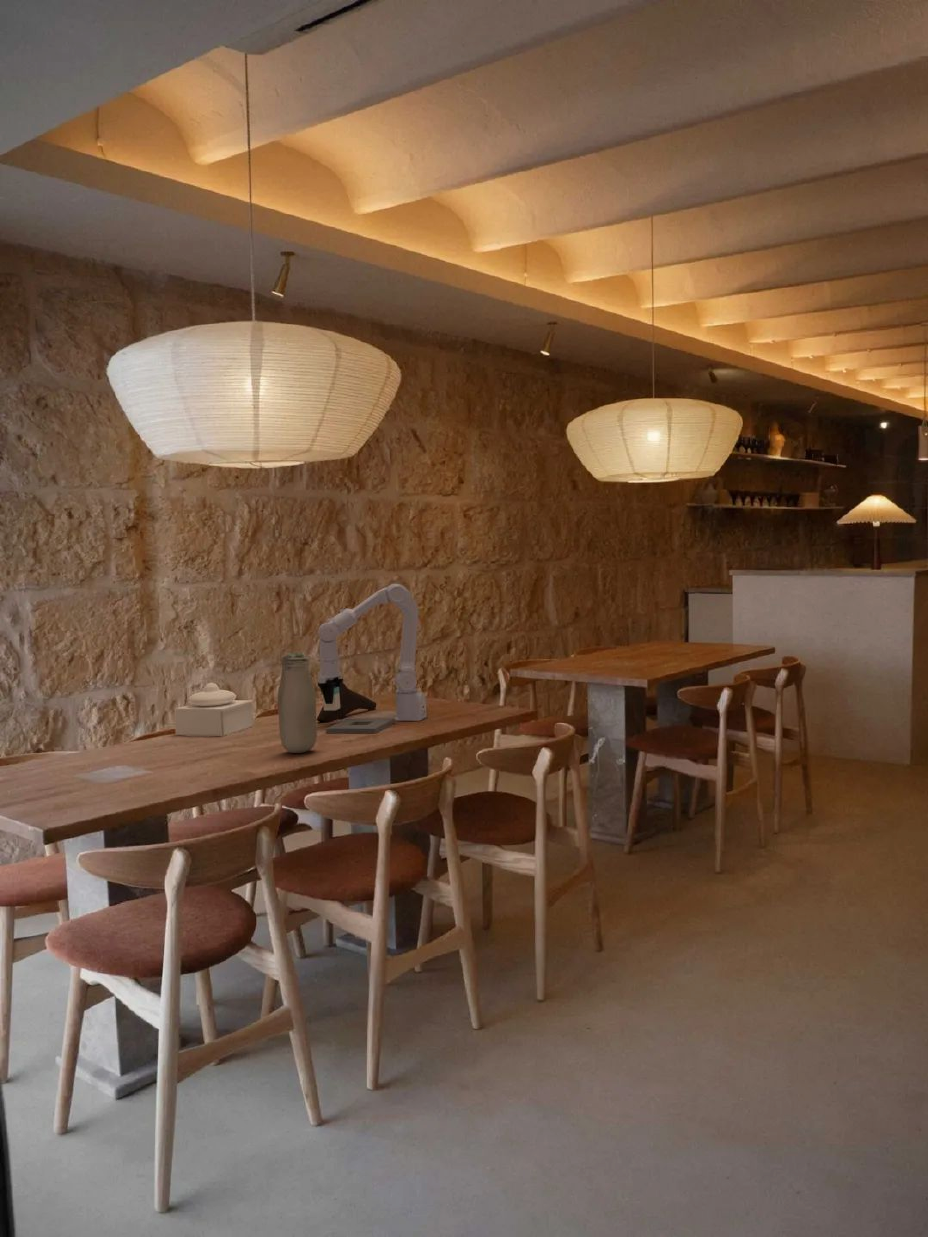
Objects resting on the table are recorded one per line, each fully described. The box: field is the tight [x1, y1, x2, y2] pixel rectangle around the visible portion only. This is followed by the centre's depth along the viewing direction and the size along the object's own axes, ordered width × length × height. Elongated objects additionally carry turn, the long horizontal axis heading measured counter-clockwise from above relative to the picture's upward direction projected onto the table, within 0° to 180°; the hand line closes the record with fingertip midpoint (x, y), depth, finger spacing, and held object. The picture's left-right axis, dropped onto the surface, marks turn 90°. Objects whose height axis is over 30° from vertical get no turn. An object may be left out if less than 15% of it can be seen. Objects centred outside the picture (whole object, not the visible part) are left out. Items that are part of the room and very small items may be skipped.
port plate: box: [325, 717, 396, 735], centre depth 310 cm, size 16×18×2 cm
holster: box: [316, 682, 377, 723], centre depth 335 cm, size 5×16×25 cm
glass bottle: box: [277, 651, 318, 754], centre depth 275 cm, size 10×10×28 cm
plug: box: [322, 687, 340, 710], centre depth 319 cm, size 4×4×7 cm
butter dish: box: [173, 682, 255, 737], centre depth 317 cm, size 18×18×16 cm
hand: (331, 702), depth 319 cm, fingers closed on plug, 4 cm apart
